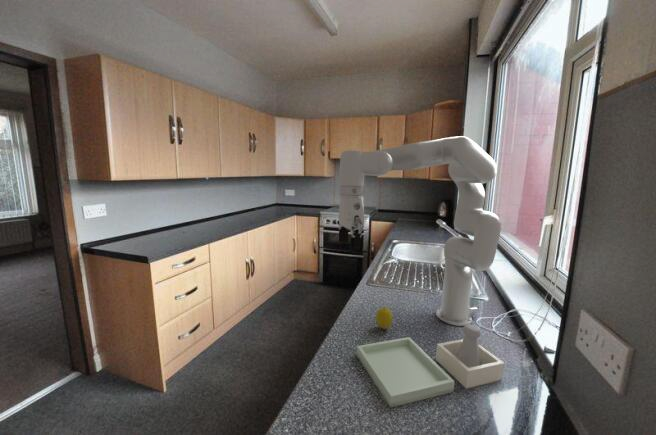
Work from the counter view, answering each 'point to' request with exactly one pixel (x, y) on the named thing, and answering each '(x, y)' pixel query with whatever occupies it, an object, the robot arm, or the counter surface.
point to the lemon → (384, 317)
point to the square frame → (472, 376)
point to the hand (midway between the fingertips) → (348, 245)
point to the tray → (403, 371)
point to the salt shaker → (470, 346)
